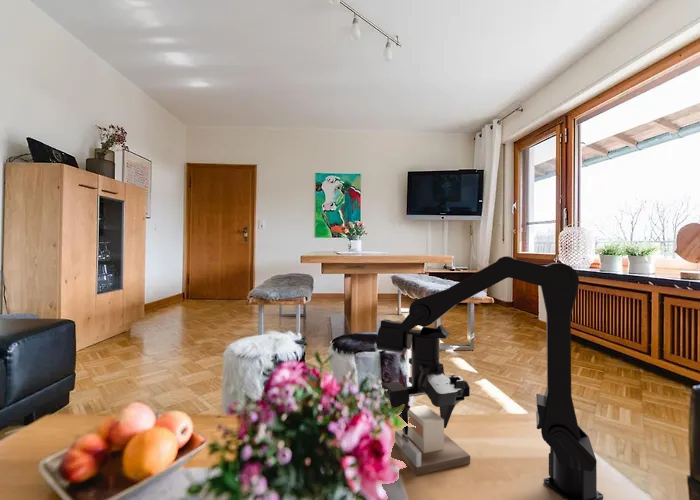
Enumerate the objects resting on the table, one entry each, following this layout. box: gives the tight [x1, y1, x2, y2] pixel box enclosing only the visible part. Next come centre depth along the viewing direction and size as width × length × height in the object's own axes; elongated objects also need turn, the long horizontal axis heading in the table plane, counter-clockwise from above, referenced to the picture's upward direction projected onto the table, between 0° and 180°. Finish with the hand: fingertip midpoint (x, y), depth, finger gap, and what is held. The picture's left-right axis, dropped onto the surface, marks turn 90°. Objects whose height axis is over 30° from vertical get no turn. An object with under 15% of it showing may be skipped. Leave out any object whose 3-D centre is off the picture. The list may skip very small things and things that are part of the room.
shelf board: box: [392, 430, 471, 476], centre depth 71 cm, size 14×12×4 cm
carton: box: [408, 404, 445, 453], centre depth 72 cm, size 5×7×6 cm, turn 18°
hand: (425, 430), depth 72 cm, fingers open, 9 cm apart
